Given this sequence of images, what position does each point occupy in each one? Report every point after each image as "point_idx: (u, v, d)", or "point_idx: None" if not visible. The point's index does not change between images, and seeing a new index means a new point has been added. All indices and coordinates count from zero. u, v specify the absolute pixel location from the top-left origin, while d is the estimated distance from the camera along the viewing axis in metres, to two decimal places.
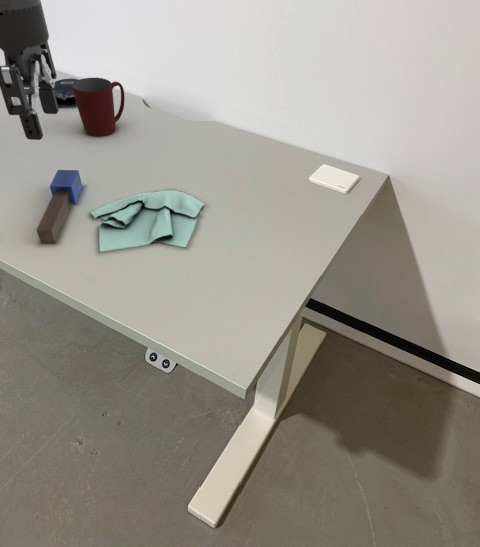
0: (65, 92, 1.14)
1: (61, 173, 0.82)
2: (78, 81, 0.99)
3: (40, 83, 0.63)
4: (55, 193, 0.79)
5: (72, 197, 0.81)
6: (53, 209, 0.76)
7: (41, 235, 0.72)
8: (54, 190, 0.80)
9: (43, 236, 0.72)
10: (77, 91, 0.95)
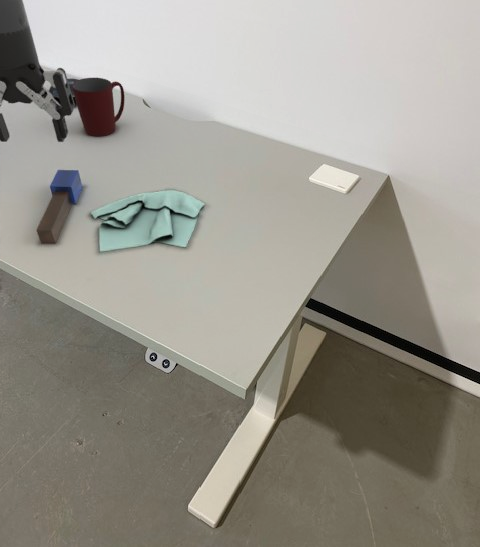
0: None
1: (61, 173, 0.82)
2: (78, 81, 0.99)
3: None
4: (55, 193, 0.79)
5: (72, 197, 0.81)
6: (53, 209, 0.76)
7: (41, 235, 0.72)
8: (54, 190, 0.80)
9: (43, 236, 0.72)
10: (77, 91, 0.95)
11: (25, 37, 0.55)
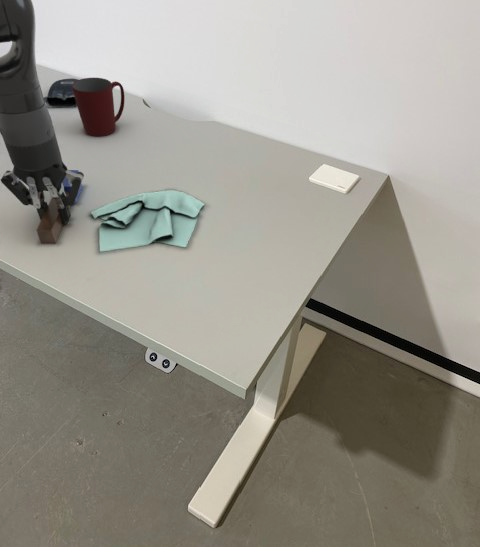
0: (66, 92, 1.14)
1: None
2: (78, 81, 0.99)
3: None
4: None
5: None
6: (53, 209, 0.76)
7: (41, 235, 0.72)
8: None
9: (43, 236, 0.72)
10: (77, 91, 0.95)
11: (51, 145, 0.66)
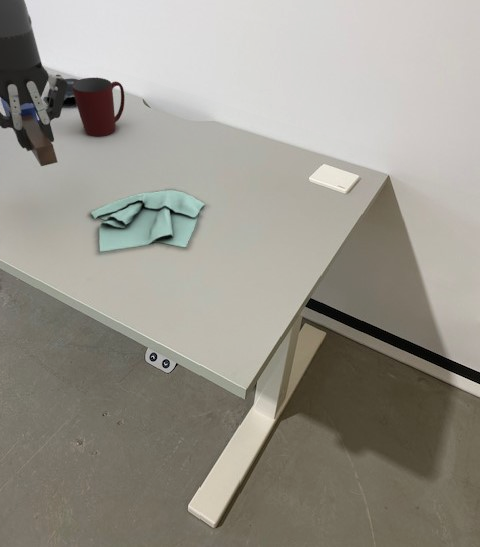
0: (66, 92, 1.14)
1: None
2: (78, 81, 0.99)
3: (38, 116, 0.65)
4: None
5: (36, 121, 0.71)
6: (33, 130, 0.66)
7: (41, 154, 0.63)
8: None
9: (44, 154, 0.63)
10: (77, 91, 0.95)
11: (33, 36, 0.57)
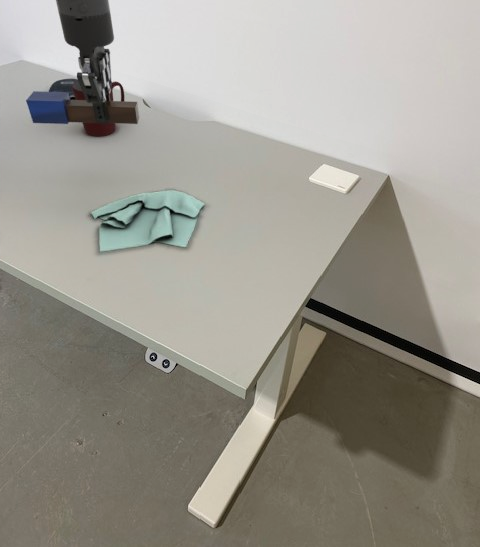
0: None
1: (36, 98, 0.71)
2: (78, 81, 0.99)
3: None
4: (70, 104, 0.72)
5: None
6: None
7: (136, 112, 0.74)
8: (64, 105, 0.72)
9: (136, 112, 0.74)
10: (77, 91, 0.95)
11: None
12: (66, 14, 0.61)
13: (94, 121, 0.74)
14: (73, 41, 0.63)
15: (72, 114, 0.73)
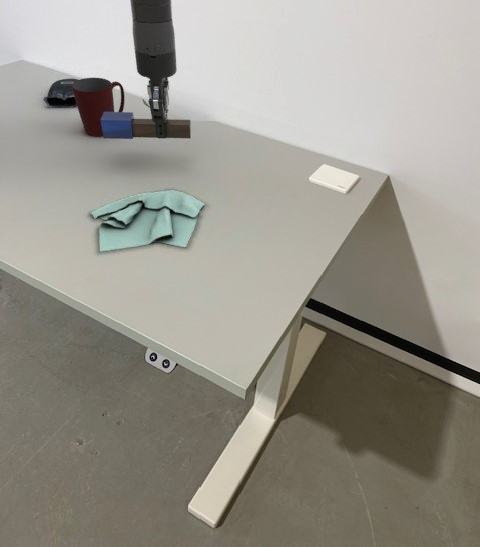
0: (66, 92, 1.14)
1: (108, 117, 0.86)
2: (78, 81, 0.99)
3: None
4: (136, 123, 0.87)
5: None
6: None
7: (190, 129, 0.88)
8: (131, 123, 0.86)
9: (190, 128, 0.89)
10: (77, 91, 0.95)
11: None
12: (142, 52, 0.75)
13: (154, 136, 0.89)
14: (146, 73, 0.78)
15: (137, 130, 0.88)
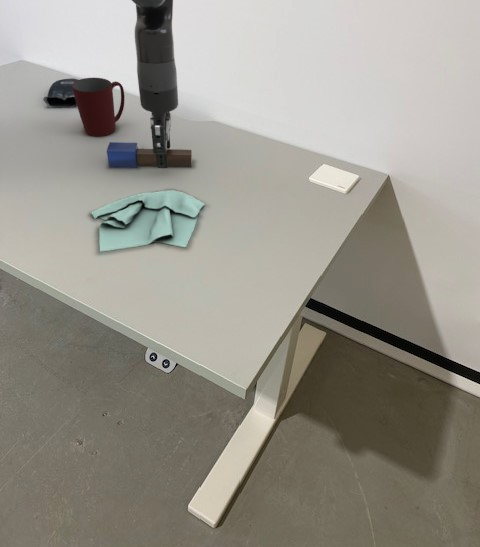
0: (66, 92, 1.14)
1: (113, 148, 0.90)
2: (78, 81, 0.99)
3: None
4: (140, 153, 0.91)
5: None
6: None
7: (191, 158, 0.93)
8: (135, 153, 0.91)
9: (191, 158, 0.94)
10: (77, 91, 0.95)
11: None
12: (146, 89, 0.80)
13: None
14: (149, 108, 0.82)
15: (141, 160, 0.92)
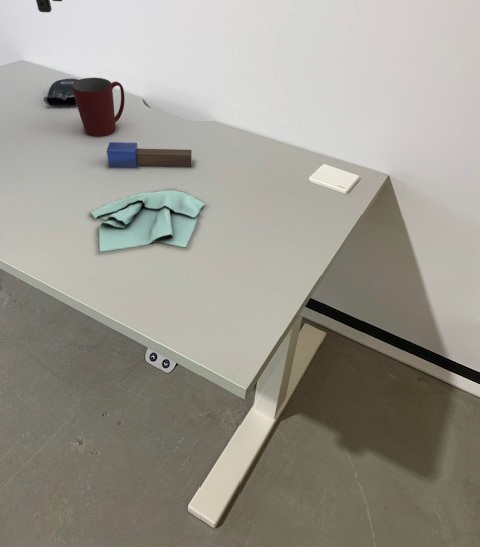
0: (66, 92, 1.14)
1: (113, 148, 0.90)
2: (78, 81, 0.99)
3: None
4: (140, 153, 0.91)
5: None
6: (164, 151, 0.93)
7: (191, 158, 0.93)
8: (135, 153, 0.91)
9: (191, 158, 0.94)
10: (77, 91, 0.95)
11: None
12: None
13: (157, 165, 0.93)
14: None
15: (141, 160, 0.92)
